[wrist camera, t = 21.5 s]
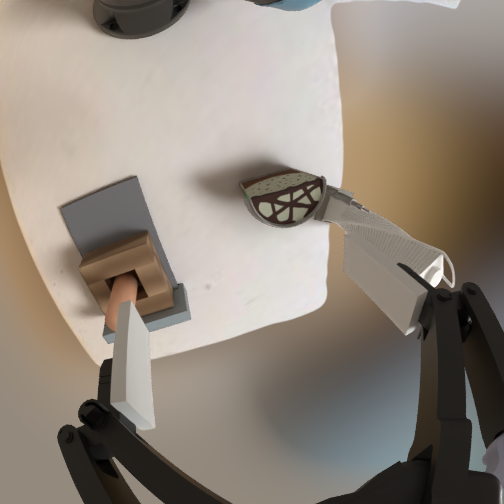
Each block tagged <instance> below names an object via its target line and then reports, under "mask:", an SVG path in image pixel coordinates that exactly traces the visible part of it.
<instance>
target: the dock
mask: <svg viewBox="0 0 504 504" xmlns="http://www.w3.org/2000/svg"><path fill="white" fill-rule="evenodd" d="M61 212H62V214H63V216H64V219H65V221H66V223H67V226H68V228H69V230H70V233H71V235H72V237H73V239H74V241H75V243H76V245H77V248H78V250H79V252H80V254H81V256H82V258H84V256H85V254H86V253H89V252H91V251H94V250H96V249H99V248H102V247H104V246H107V245H110V244H112V243H115V242H118V241H120V240H123V239H126V238H128V237H131V236H134V235H137V234H140V233H142V232H145V231H149V234H150V236H151V239H152V242H153V244H154V247H155V249H156V251H157V254H158V256H159V259H160V261H161V264H162V266H163V268H164V271H165V273H166V275H167V278H168V280H169V282H170V284H171V287H172V289H173V298H174V306H173V307H170V308H167V309H164V310H161V311H158V312H155V313H151V314H148V315H145V316H142V317H141V319H142V321H143V322H144V324H145V326H146V328H147V329H148V331H149V332H152V331H155V330H159V329H162V328H165V327H169V326H172V325H175V324H178V323H181V322H185V321H188V320H191V315H190V309H189V304H188V298H187V292H186V289H185V287H184V285H183V284H180V285H178V284H177V282H176V279H175V277H174V275H173V272H172V270H171V267H170V265H169V263H168V260H167V258H166V255H165V253H164V250H163V248H162V245H161V243H160V240H159V237H158V235H157V232H156V229H155V227H154V224H153V221H152V219H151V216H150V213H149V210H148V207H147V205H146V202H145V199H144V196H143V193H142V190H141V187H140V184H139V181H138V178H137V176H136V177H133V178H131V179H128V180H125V181H123V182H120V183H118V184H115V185H112V186H110V187H107V188H105V189H103V190H100V191H98V192H95V193H93V194H91V195H88V196H86V197H84V198H82V199H79V200H77V201H75V202H73V203H71V204H68V205H66V206H64V207H62V208H61ZM103 338H104V339H105V340H106V342H107V343H108V344H110V343H114V341H115V331H113V330H111V329H110V328H109V327H108V326H107V325H106V323H105V325H104V331H103Z"/></svg>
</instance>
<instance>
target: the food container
mask: <svg viewBox="0 0 504 504" xmlns="http://www.w3.org/2000/svg"><path fill="white" fill-rule="evenodd" d="M239 184H240V187H241V189H242V191H243V192H244V194H245V196H246V198H247V199H246V198H243V199H244V202H245V205H246V207H247V208H248V210H249V212H250V213H251V214H252V215H253V216H254V217H255V218H256V219H257V220H259V221H261V222H262V223H265V224H267V225H269V226H272V227H276V228H289V227H294V226H297V225H300V224H302V223H304V222H306V221H307V220H308V219H310V218H311V217H312V216H313V215H314V214H315V213H316V212H317V210H318V209H319V208H320V206H321V204H322V202H323V199H324V197H325V192H326V179H325V177H323V176H321V177H318V176H315V175H312V174H309V173H306V172H303V171H300V170H297V169H293V168H288V169H284V170H281V171H277V172H273V173H270V174H266V175H263V176H259V177H256V178H252V179H249V180H245V181H242V182H239Z"/></svg>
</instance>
